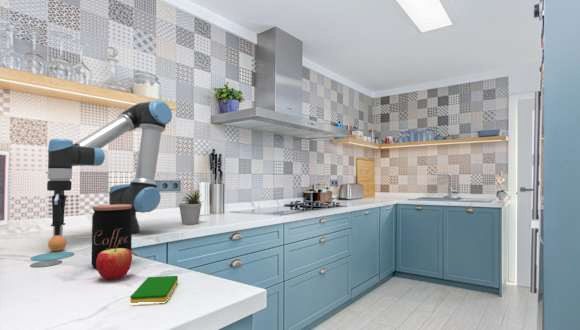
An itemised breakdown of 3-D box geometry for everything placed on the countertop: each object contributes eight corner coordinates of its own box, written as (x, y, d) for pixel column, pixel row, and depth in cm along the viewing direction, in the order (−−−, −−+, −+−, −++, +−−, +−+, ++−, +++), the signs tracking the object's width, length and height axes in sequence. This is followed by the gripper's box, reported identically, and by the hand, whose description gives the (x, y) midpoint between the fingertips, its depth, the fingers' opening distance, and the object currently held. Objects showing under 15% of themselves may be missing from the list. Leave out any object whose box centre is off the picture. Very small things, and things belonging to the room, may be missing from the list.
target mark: (78, 251, 119) (78, 250, 119) (68, 258, 108) (68, 258, 108) (38, 253, 115) (38, 253, 115) (24, 262, 104) (24, 261, 104)
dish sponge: (178, 285, 83) (178, 275, 83) (165, 306, 69) (165, 294, 69) (148, 286, 81) (148, 276, 82) (129, 308, 68) (129, 296, 68)
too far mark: (65, 259, 107) (65, 259, 107) (57, 265, 99) (57, 265, 99) (36, 261, 104) (36, 261, 104) (25, 268, 97) (25, 267, 97)
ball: (68, 234, 123) (66, 238, 118) (66, 249, 123) (63, 253, 118) (51, 233, 121) (47, 237, 116) (48, 248, 121) (45, 253, 116)
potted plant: (197, 225, 183) (197, 189, 183) (174, 225, 185) (174, 189, 185) (207, 222, 195) (207, 188, 196) (185, 222, 197) (185, 188, 198)
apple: (137, 277, 87) (138, 239, 87) (102, 285, 81) (103, 244, 81) (124, 271, 93) (125, 236, 93) (91, 279, 86) (91, 240, 87)
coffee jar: (86, 271, 93) (87, 207, 94) (97, 262, 103) (98, 204, 104) (127, 268, 96) (128, 206, 97) (134, 259, 106) (134, 203, 107)
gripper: (51, 180, 128) (49, 241, 127) (43, 179, 116) (41, 247, 115) (74, 180, 131) (72, 239, 130) (68, 180, 120) (66, 245, 119)
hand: (57, 243), depth 123 cm, fingers closed
